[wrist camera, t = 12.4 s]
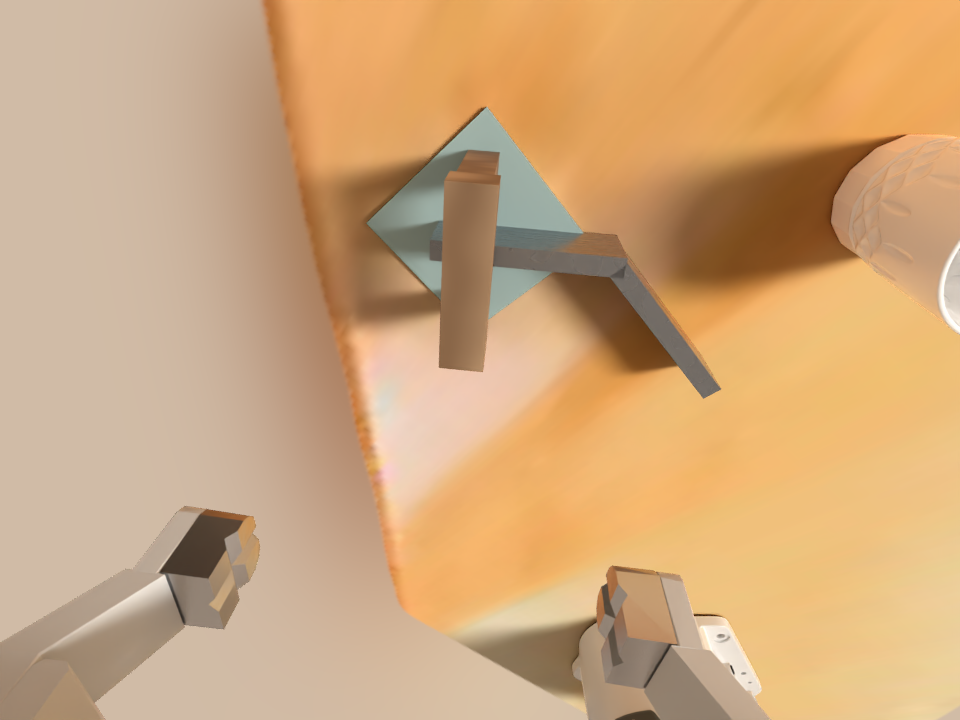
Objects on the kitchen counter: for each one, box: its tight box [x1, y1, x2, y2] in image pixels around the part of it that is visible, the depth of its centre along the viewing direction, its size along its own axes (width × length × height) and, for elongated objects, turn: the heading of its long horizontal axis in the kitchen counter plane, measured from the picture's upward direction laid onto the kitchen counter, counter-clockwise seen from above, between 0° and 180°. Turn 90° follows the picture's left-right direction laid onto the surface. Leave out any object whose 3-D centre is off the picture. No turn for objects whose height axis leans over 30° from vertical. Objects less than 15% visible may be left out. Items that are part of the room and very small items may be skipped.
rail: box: [429, 220, 721, 399], centre depth 31 cm, size 19×9×4 cm, turn 41°
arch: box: [439, 150, 501, 372], centre depth 27 cm, size 2×10×8 cm, turn 176°
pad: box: [366, 107, 583, 319], centre depth 31 cm, size 10×10×1 cm
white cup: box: [831, 134, 960, 335], centre depth 24 cm, size 8×8×10 cm
